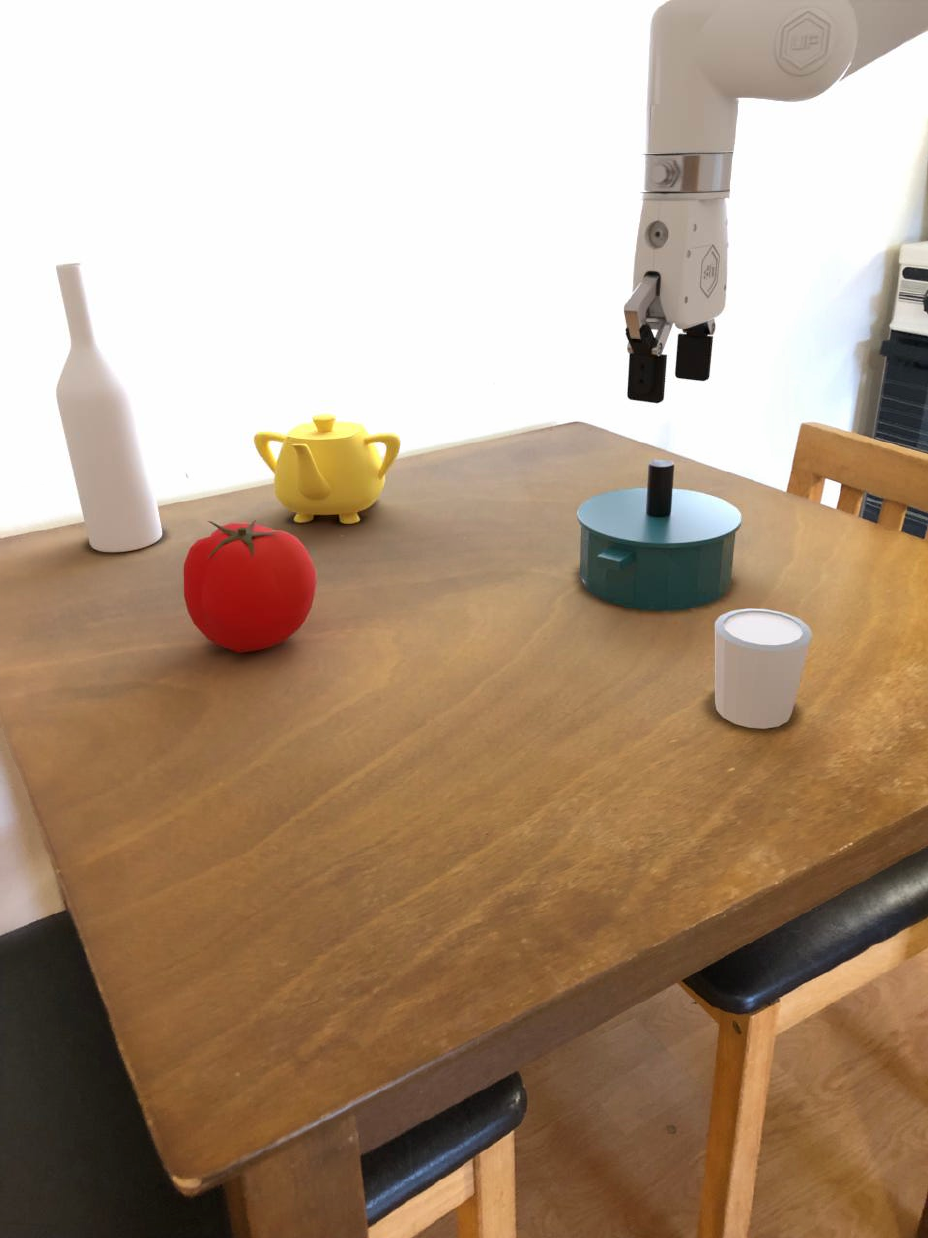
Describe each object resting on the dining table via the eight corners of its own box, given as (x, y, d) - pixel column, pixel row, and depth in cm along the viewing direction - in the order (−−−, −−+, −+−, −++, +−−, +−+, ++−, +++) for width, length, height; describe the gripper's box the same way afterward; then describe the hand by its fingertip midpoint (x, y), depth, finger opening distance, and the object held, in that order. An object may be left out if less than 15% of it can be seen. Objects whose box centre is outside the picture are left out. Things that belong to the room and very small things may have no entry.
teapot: (251, 512, 115) (237, 417, 110) (351, 486, 123) (342, 396, 118) (306, 543, 105) (294, 440, 100) (410, 513, 113) (404, 416, 108)
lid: (764, 514, 92) (771, 454, 89) (700, 567, 81) (706, 500, 78) (623, 488, 101) (625, 432, 98) (547, 533, 89) (547, 472, 87)
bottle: (145, 553, 104) (87, 268, 91) (77, 552, 105) (10, 269, 92) (173, 527, 111) (124, 259, 98) (109, 526, 112) (52, 261, 99)
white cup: (797, 740, 67) (810, 655, 64) (701, 724, 70) (709, 641, 67) (802, 693, 73) (814, 613, 70) (712, 680, 75) (720, 602, 72)
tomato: (195, 619, 88) (175, 508, 84) (316, 604, 91) (304, 495, 86) (191, 681, 78) (168, 558, 73) (328, 662, 80) (315, 541, 75)
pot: (761, 560, 97) (768, 501, 94) (679, 636, 82) (684, 568, 79) (634, 534, 105) (637, 478, 102) (539, 598, 90) (539, 535, 87)
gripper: (684, 182, 68) (666, 416, 75) (767, 174, 80) (745, 375, 88) (593, 183, 72) (585, 404, 79) (686, 175, 84) (671, 367, 92)
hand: (669, 389), depth 84 cm, fingers open, 9 cm apart
